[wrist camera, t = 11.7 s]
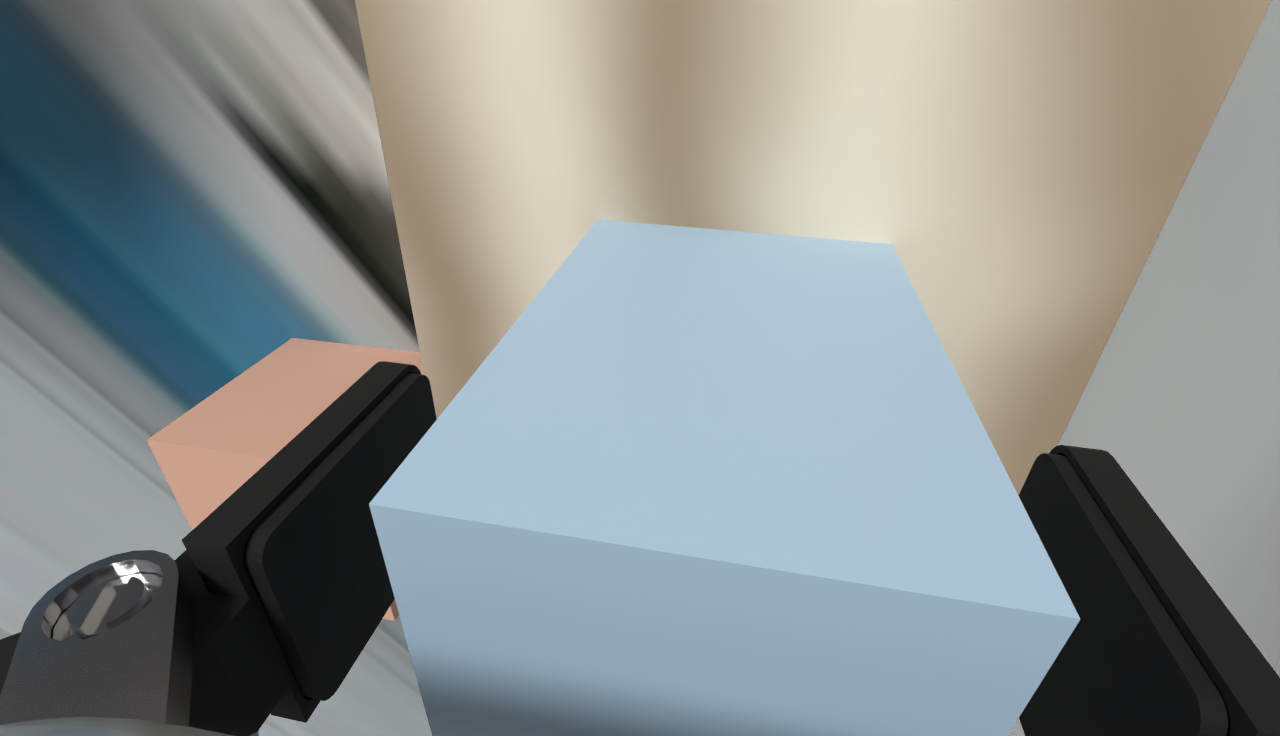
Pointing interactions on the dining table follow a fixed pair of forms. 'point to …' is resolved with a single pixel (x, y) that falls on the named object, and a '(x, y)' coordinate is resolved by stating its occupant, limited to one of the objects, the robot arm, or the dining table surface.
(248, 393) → the terracotta cube
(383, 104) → the ash base block
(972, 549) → the blue block
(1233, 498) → the dining table surface
